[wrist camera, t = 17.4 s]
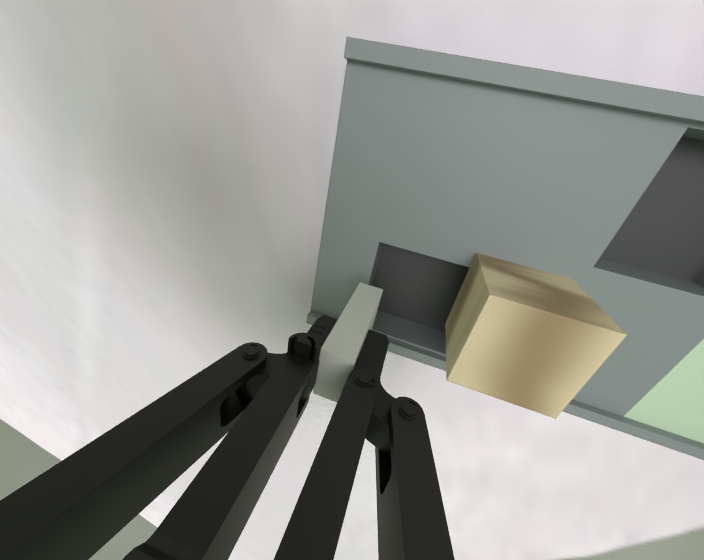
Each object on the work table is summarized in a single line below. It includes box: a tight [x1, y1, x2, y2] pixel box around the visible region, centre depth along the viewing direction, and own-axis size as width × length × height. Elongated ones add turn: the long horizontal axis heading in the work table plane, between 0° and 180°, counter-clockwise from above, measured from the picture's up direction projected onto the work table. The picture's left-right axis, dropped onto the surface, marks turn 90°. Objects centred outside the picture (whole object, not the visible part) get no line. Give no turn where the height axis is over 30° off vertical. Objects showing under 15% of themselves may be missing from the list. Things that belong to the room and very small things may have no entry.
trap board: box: [307, 37, 704, 460], centre depth 16 cm, size 30×18×6 cm, turn 78°
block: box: [445, 253, 627, 419], centre depth 16 cm, size 6×6×6 cm
